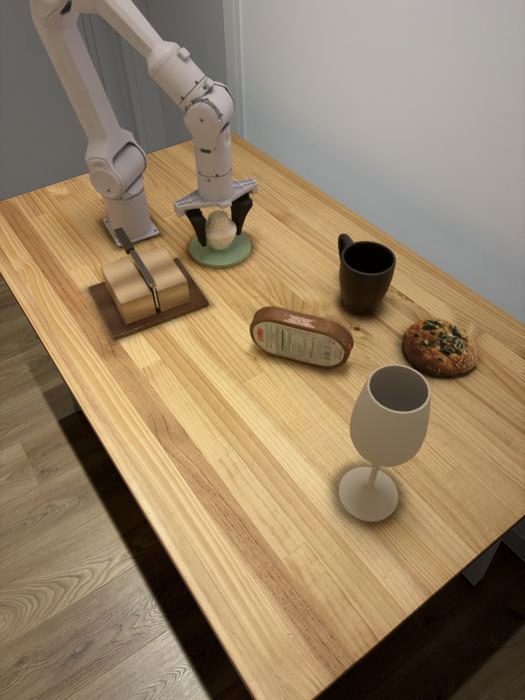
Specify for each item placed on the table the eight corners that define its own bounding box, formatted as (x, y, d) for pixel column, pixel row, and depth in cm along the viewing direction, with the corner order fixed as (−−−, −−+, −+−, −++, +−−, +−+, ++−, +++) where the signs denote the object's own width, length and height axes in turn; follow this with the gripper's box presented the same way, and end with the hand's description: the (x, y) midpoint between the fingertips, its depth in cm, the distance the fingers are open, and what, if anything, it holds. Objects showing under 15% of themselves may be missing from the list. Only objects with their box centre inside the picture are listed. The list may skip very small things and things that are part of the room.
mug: (359, 268, 96) (366, 222, 89) (395, 313, 88) (406, 266, 81) (316, 280, 94) (320, 233, 87) (350, 327, 86) (357, 280, 79)
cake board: (89, 290, 92) (81, 265, 88) (178, 260, 97) (174, 236, 93) (114, 340, 85) (106, 315, 81) (209, 305, 90) (206, 280, 86)
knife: (119, 252, 96) (113, 227, 92) (127, 249, 97) (121, 225, 93) (153, 310, 86) (148, 285, 83) (162, 307, 87) (157, 282, 83)
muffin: (243, 239, 100) (242, 206, 95) (228, 259, 96) (225, 226, 91) (213, 231, 102) (210, 198, 96) (196, 250, 98) (192, 217, 93)
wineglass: (331, 468, 70) (350, 360, 54) (391, 464, 70) (427, 354, 54) (342, 526, 65) (367, 424, 49) (406, 520, 65) (451, 418, 49)
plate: (180, 241, 101) (179, 237, 100) (234, 224, 104) (233, 220, 104) (205, 276, 94) (204, 272, 94) (261, 256, 98) (261, 252, 97)
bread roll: (393, 366, 80) (401, 340, 77) (406, 323, 88) (415, 298, 85) (470, 390, 78) (482, 364, 75) (477, 344, 86) (488, 319, 83)
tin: (350, 362, 81) (357, 321, 75) (345, 377, 79) (352, 337, 73) (254, 338, 85) (253, 297, 78) (247, 352, 83) (246, 312, 77)
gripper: (181, 192, 83) (191, 263, 93) (266, 167, 87) (266, 237, 98) (164, 170, 87) (174, 240, 97) (246, 148, 92) (247, 217, 102)
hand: (219, 237), depth 98 cm, fingers closed on muffin, 6 cm apart
